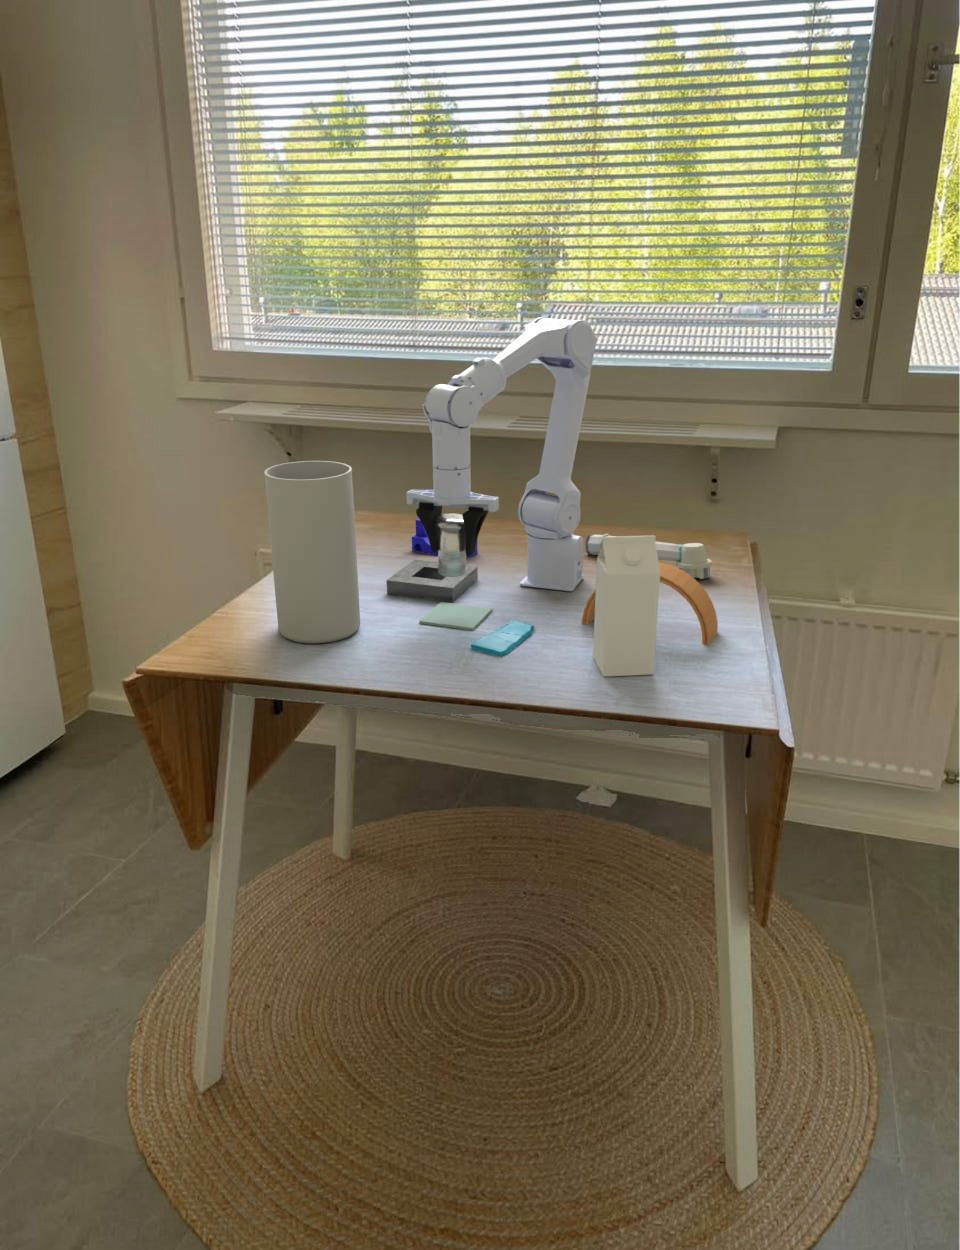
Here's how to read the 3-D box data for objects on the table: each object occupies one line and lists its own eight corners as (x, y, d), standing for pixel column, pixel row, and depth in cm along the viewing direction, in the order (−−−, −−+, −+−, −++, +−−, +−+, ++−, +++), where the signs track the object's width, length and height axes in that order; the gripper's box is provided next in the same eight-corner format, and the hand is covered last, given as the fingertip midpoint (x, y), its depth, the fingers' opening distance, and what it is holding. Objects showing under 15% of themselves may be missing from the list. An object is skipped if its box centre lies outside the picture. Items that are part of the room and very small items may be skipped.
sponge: (546, 628, 147) (514, 616, 150) (502, 654, 138) (469, 640, 141) (544, 636, 148) (513, 624, 151) (500, 663, 139) (468, 649, 142)
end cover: (473, 567, 155) (475, 516, 151) (462, 580, 150) (463, 528, 146) (441, 562, 156) (442, 511, 152) (430, 575, 152) (430, 523, 148)
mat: (492, 610, 156) (492, 608, 156) (473, 630, 148) (473, 628, 148) (441, 604, 159) (440, 601, 159) (419, 623, 151) (419, 620, 151)
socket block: (477, 579, 170) (477, 566, 169) (452, 602, 160) (452, 588, 159) (415, 572, 174) (414, 559, 173) (387, 594, 164) (386, 580, 163)
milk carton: (592, 657, 139) (597, 529, 132) (641, 655, 139) (649, 528, 132) (602, 677, 132) (608, 545, 125) (653, 675, 133) (662, 543, 126)
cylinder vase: (377, 629, 149) (369, 469, 140) (310, 652, 141) (297, 484, 131) (327, 609, 157) (317, 457, 148) (262, 630, 149) (247, 470, 140)
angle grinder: (597, 530, 186) (716, 536, 169) (600, 564, 187) (717, 573, 171) (582, 536, 182) (701, 543, 166) (584, 570, 184) (703, 581, 168)
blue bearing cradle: (412, 551, 187) (411, 521, 184) (424, 545, 190) (423, 516, 188) (465, 560, 181) (465, 530, 179) (477, 554, 185) (477, 524, 183)
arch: (594, 612, 156) (597, 553, 152) (717, 633, 147) (723, 571, 144) (581, 624, 151) (583, 563, 147) (707, 646, 143) (713, 582, 139)
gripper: (397, 468, 145) (400, 554, 150) (487, 475, 140) (487, 564, 145) (416, 458, 151) (418, 542, 156) (503, 465, 146) (503, 551, 151)
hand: (453, 552), depth 151 cm, fingers closed on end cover, 5 cm apart
